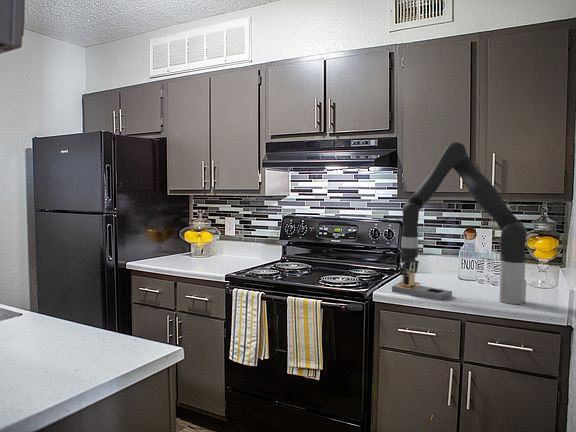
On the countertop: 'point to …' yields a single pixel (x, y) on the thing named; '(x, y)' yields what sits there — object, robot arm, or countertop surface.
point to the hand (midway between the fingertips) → (408, 283)
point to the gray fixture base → (423, 292)
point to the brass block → (411, 280)
